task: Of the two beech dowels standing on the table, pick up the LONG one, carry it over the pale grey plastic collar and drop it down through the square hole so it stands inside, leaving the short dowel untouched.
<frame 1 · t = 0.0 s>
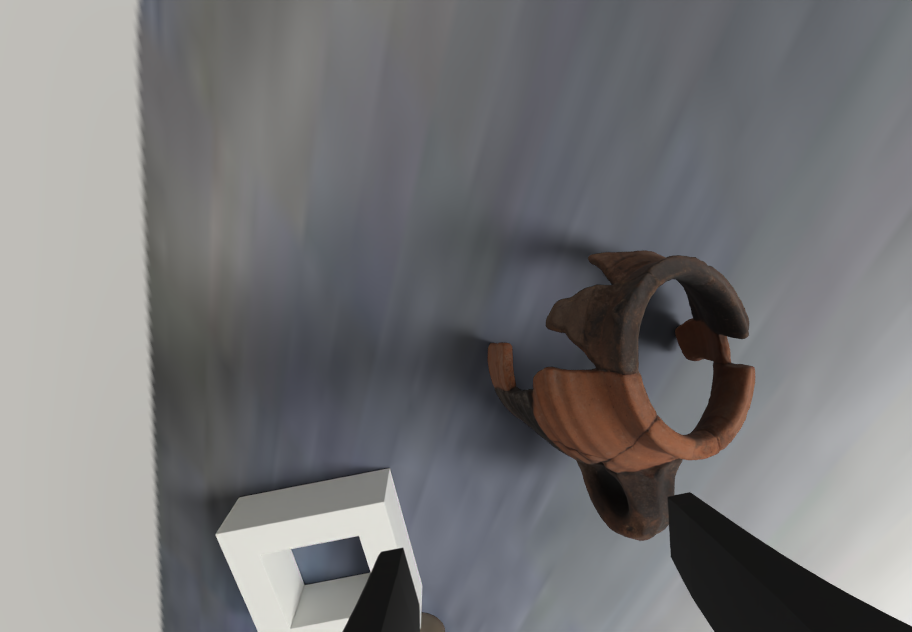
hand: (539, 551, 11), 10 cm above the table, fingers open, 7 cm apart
pottery mug: (588, 363, 21), on the table
collar: (334, 543, 23), on the table
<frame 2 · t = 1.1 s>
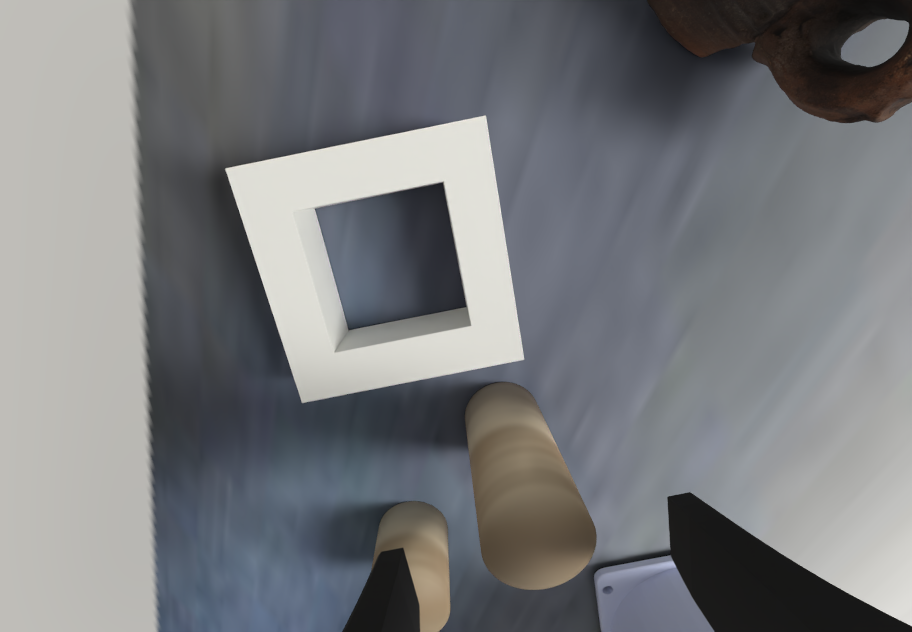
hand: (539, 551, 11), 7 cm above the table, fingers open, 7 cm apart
short pin: (413, 529, 20), on the table
long pin: (501, 416, 18), on the table
collar: (393, 259, 16), on the table
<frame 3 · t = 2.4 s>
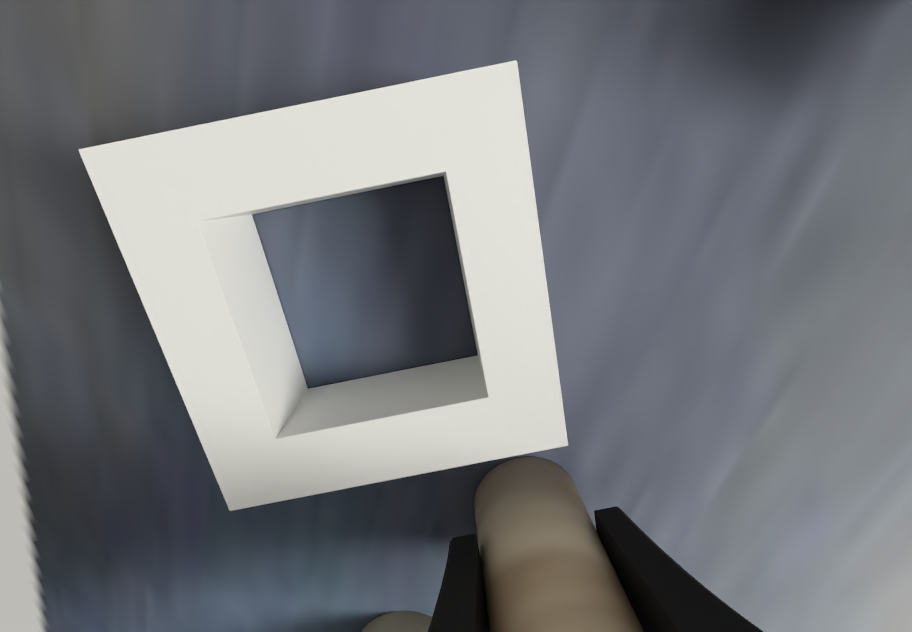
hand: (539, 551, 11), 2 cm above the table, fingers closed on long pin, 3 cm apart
long pin: (525, 501, 13), on the table, touching gripper
collar: (371, 289, 11), on the table
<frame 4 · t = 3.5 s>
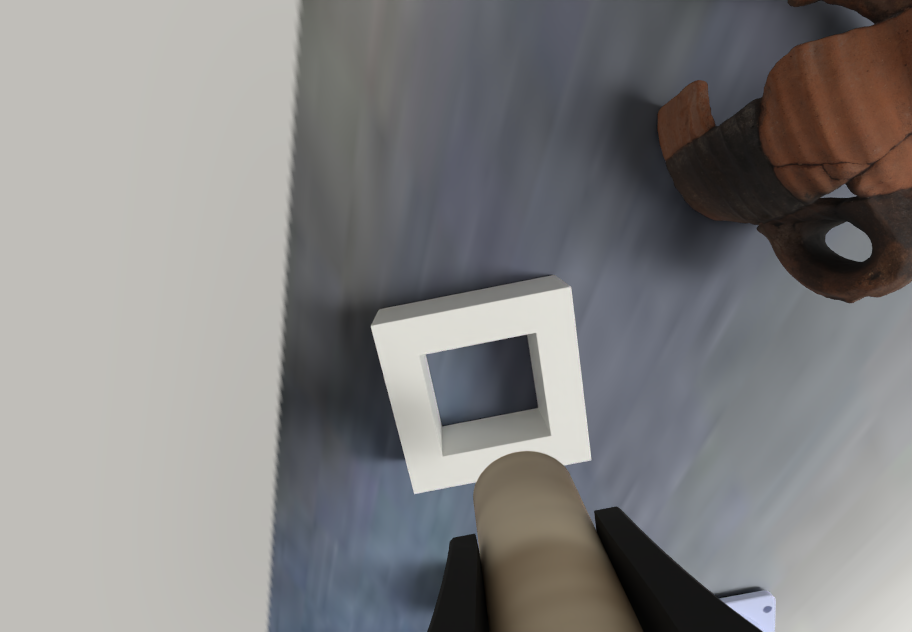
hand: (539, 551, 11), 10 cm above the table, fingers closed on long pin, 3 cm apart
pottery mug: (768, 140, 18), on the table
long pin: (523, 494, 14), point 7 cm above the table, touching gripper
collar: (481, 372, 20), on the table
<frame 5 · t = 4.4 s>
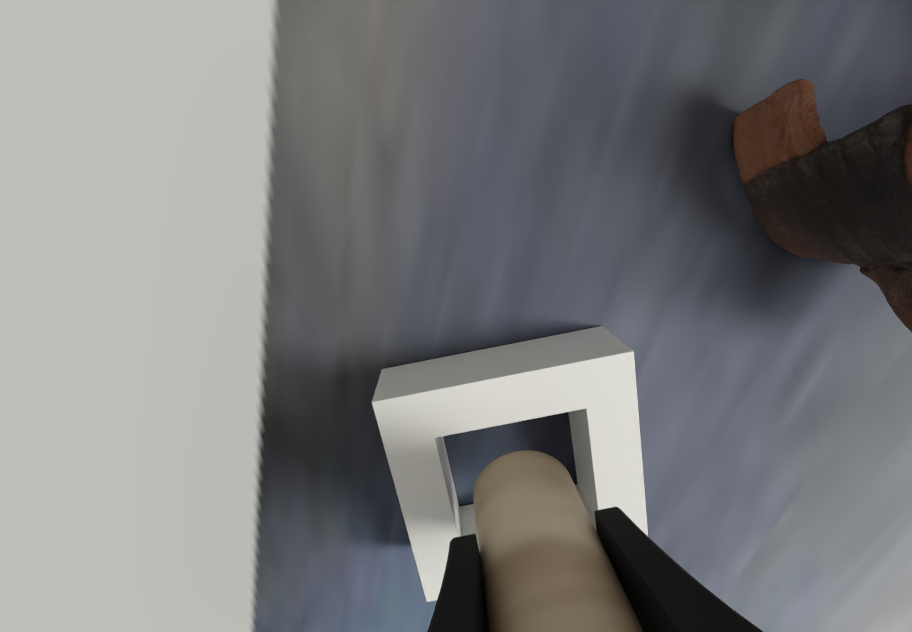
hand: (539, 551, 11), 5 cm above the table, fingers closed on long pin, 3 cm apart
pottery mug: (870, 155, 14), on the table
long pin: (523, 494, 14), point 3 cm above the table, touching gripper
collar: (509, 443, 16), on the table
when the fingers open (4 cm above the table, at t = 5.0 s): long pin drops 2 cm, resting in collar.
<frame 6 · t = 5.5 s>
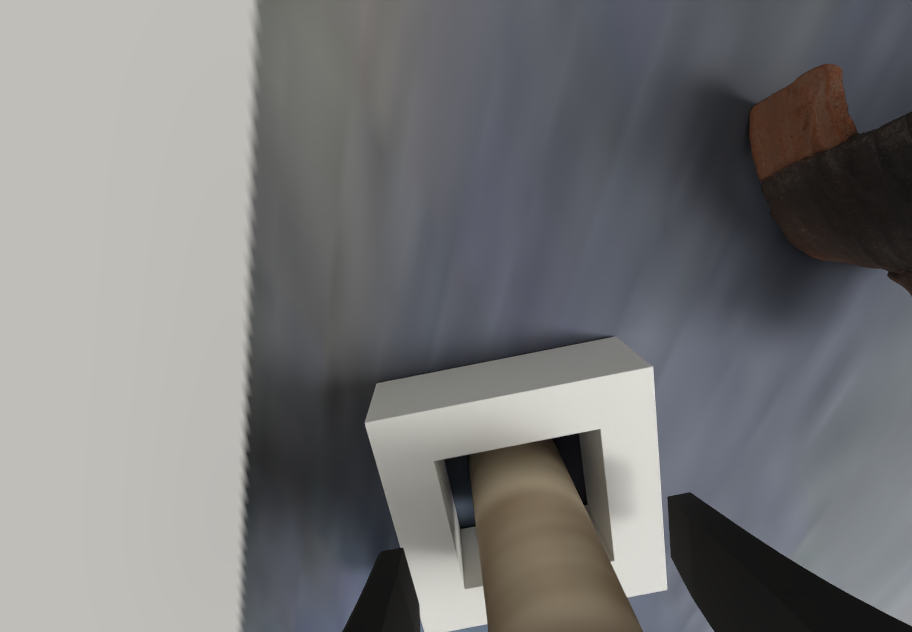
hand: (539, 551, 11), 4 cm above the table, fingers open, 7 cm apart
pottery mug: (898, 149, 13), on the table
long pin: (513, 461, 15), resting in collar
collar: (514, 462, 15), on the table
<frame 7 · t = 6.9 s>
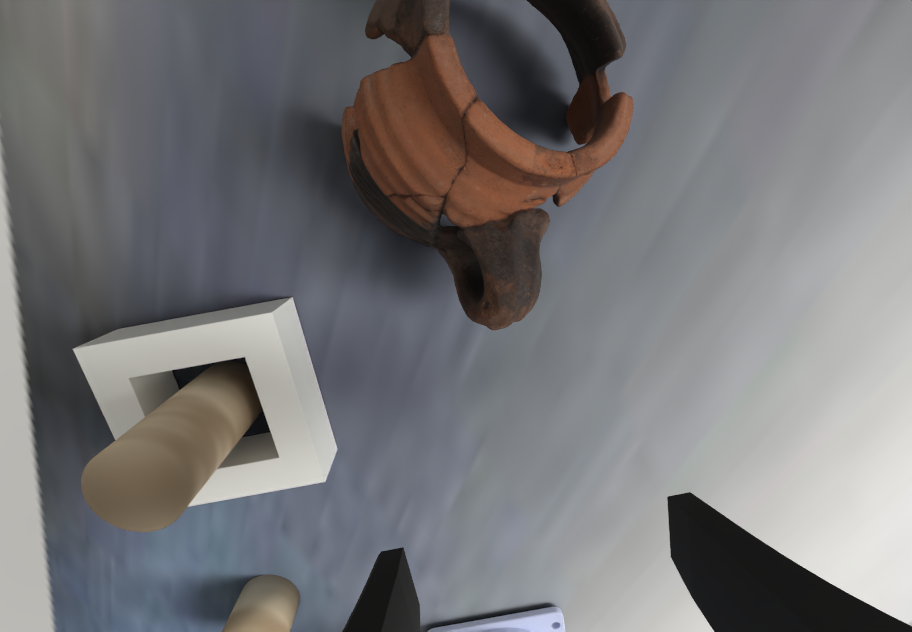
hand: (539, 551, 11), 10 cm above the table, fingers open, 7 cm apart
short pin: (270, 597, 24), on the table
pottery mug: (469, 162, 18), on the table
long pin: (233, 392, 20), resting in collar
collar: (233, 392, 20), on the table
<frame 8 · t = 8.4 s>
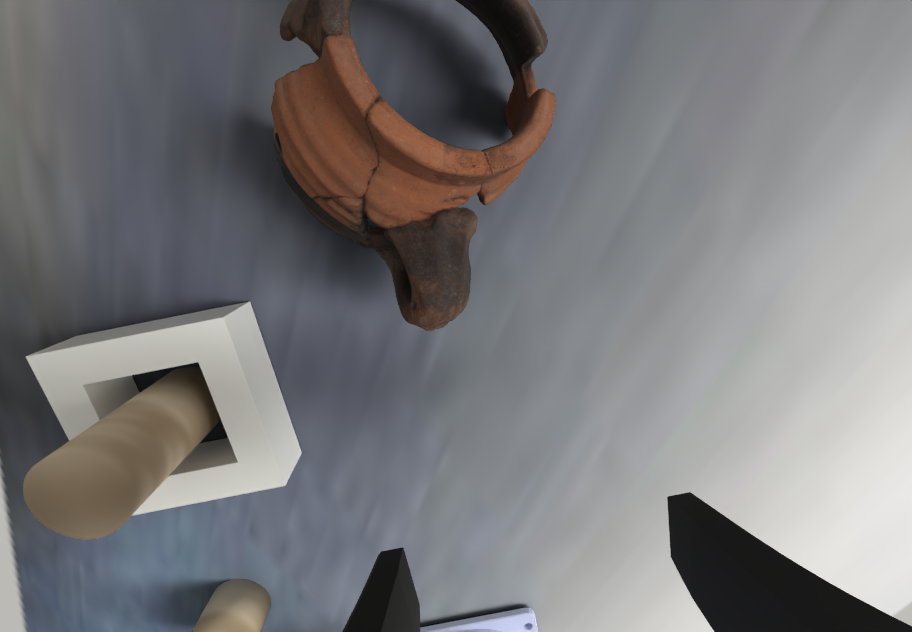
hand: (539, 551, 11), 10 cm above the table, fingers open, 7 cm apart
short pin: (241, 601, 24), on the table
pottery mug: (411, 162, 18), on the table
long pin: (195, 397, 20), resting in collar
collar: (195, 397, 20), on the table
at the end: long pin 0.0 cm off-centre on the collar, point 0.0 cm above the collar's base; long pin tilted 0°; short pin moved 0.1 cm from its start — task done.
